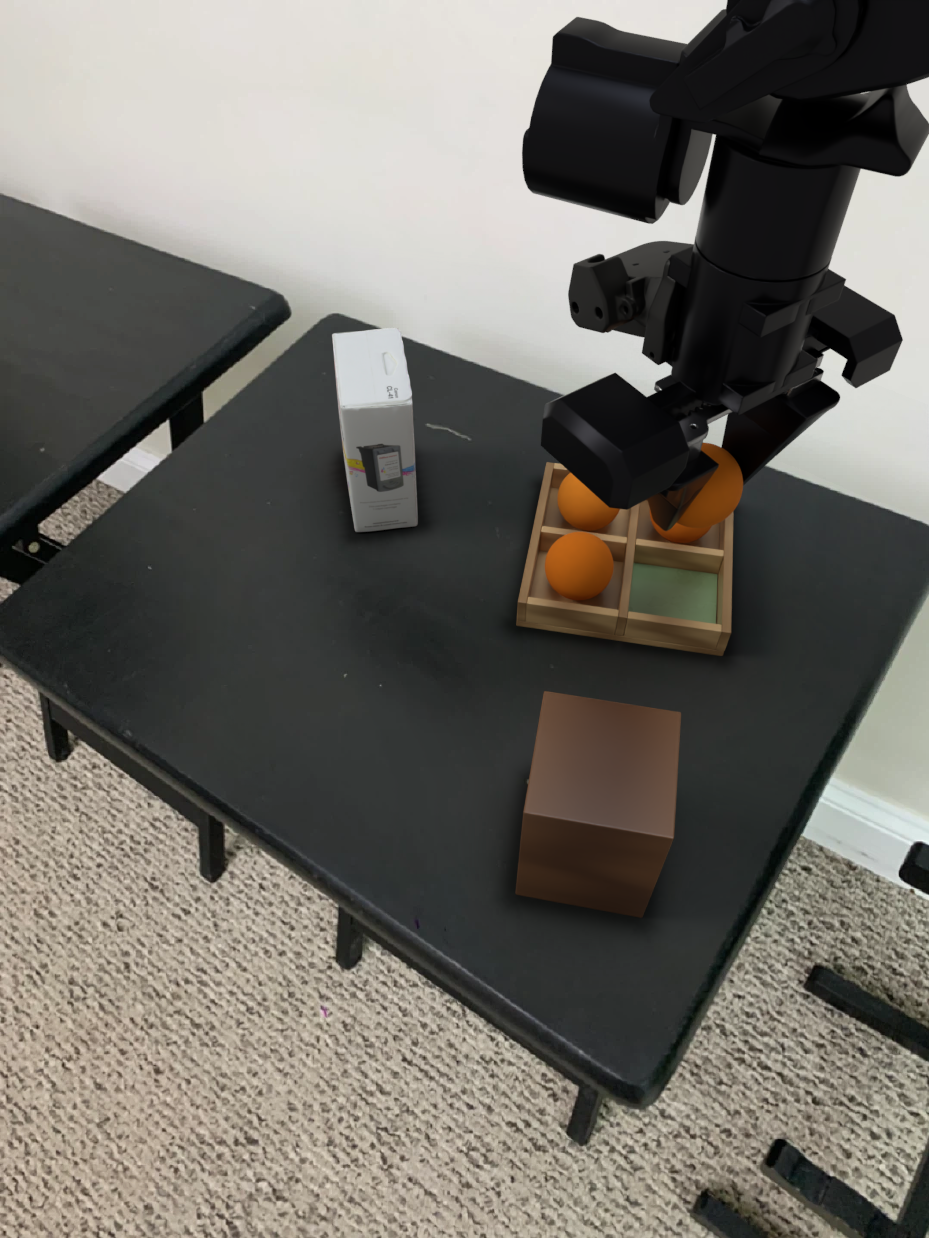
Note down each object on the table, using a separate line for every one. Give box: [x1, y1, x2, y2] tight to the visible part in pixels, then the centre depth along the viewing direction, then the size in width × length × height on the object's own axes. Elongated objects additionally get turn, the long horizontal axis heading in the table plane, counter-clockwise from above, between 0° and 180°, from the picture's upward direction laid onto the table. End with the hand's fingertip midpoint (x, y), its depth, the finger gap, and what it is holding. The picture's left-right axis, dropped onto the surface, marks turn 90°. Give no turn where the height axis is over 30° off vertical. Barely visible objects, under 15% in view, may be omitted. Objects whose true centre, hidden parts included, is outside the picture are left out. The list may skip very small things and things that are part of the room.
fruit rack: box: [515, 461, 735, 657], centre depth 65 cm, size 14×14×3 cm
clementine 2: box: [545, 532, 614, 600], centre depth 62 cm, size 5×5×5 cm
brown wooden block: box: [515, 690, 682, 919], centre depth 49 cm, size 7×7×10 cm
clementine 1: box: [557, 473, 620, 531], centre depth 66 cm, size 5×5×5 cm
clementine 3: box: [677, 442, 744, 528], centre depth 50 cm, size 5×5×5 cm
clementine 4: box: [650, 511, 712, 543], centre depth 65 cm, size 5×5×5 cm
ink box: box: [331, 327, 419, 533], centre depth 66 cm, size 9×5×12 cm, turn 9°
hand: (693, 507), depth 51 cm, fingers closed on clementine 3, 4 cm apart
